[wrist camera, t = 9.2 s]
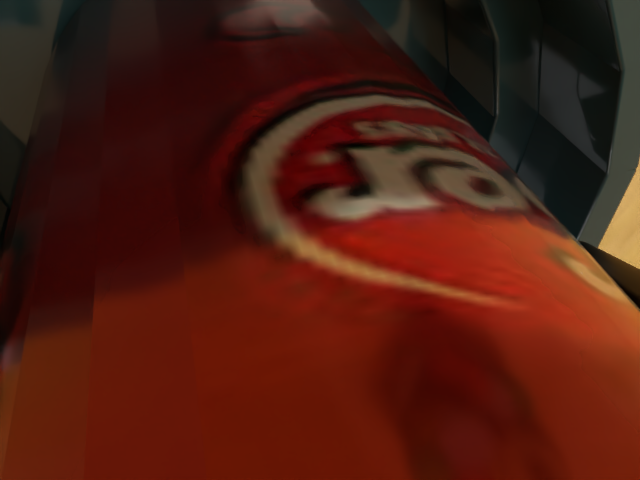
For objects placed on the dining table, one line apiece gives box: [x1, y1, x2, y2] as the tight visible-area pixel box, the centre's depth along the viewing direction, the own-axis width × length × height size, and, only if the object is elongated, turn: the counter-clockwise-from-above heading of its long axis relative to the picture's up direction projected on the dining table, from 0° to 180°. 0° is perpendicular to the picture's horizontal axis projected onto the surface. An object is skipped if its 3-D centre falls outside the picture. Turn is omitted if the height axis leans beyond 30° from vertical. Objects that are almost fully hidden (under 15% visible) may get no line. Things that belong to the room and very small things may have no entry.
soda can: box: [0, 0, 640, 480], centre depth 9 cm, size 7×7×12 cm
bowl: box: [0, 0, 640, 251], centre depth 11 cm, size 13×13×6 cm
